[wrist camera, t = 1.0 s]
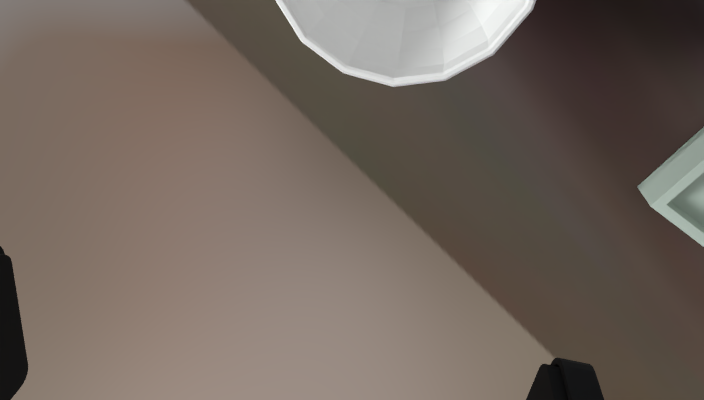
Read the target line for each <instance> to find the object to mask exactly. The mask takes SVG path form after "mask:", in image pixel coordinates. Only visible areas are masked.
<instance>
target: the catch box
mask: <svg viewBox="0 0 704 400" xmlns="http://www.w3.org/2000/svg"><path fill="white" fill-rule="evenodd" d="M637 187H638V189H639V190H640V192H641V193H642V195H643V196H644V198H645V199H646V200H647V202H648V203H649V205H650V206H651V207H652V208H654V209H655V210H656V211H657V212H659V213H660V214H661V215H663V216H664V217H665V218H667V219H668V220H669V221H671V222H672V223H673V224H675V225H676V226H677V227H678V228H680V229H681V230H682V231H684V232H685V233H686V234H688V235H689V236H690V237H692V238H693V239H694V240H696V241H697V242H698V243H699V244H701V245H702V246H703V247H704V127H703V128H702V129H701V130H700V131H699V132H697V133H696V134H695V135H694V136H693V137H692V138H691V139H690V140H689V141H687V142H686V143H685V144H684V145H683V146H682V147H681V148H680V149H679V150H677V151H676V152H675V153H674V154H673V155H672V156H671V157H670V158H669V159H667V160H666V161H665V162H664V163H663V164H662V165H661V166H660V167H659V168H657V169H656V170H655V171H654V172H653V173H652V174H651V175H650V176H649V177H647V178H646V179H645V180H644V181H643V182H642V183H641V184H640V185H639V186H637Z"/></svg>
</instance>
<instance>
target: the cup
mask: <svg viewBox="0 0 704 400" xmlns="http://www.w3.org/2000/svg"><path fill="white" fill-rule="evenodd" d="M276 2H277V4H278V5H279V7H280V8H281V10H282V12H283V13H284V15H285V16H286V18H287V20H288V21H289V23H290V24H291V26H292V27H293V29H294V31H295V32H296V34H297V35H298V37H299V39H300V40H301V42H303V43H304V44H305V45H307V46H308V47H309V48H311V49H312V50H313V51H315V52H316V53H317V54H319V55H320V56H321V57H323V58H324V59H325V60H327V61H328V62H329V63H331V64H332V65H333V66H335V67H336V68H337V69H339V70H340V71H341V72H343V73H345V74H348V75H352V76H356V77H359V78H363V79H367V80H370V81H374V82H378V83H381V84H385V85H389V86H393V87H395V86H404V85H412V84H420V83H429V82H437V81H445V80H447V79H449V78H451V77H453V76H455V75H457V74H458V73H460V72H462V71H464V70H466V69H468V68H470V67H471V66H473V65H475V64H477V63H479V62H481V61H483V60H485V59H486V58H488V57H490V56H492V55H494V54H495V53H496V51H497V50H498V49H499V48H500V47H501V46H502V45H503V43H504V42H505V41H506V40H507V39H508V38H509V36H510V35H511V34H512V33H513V32H514V31H515V30H516V28H517V27H518V26H519V25H520V24H521V23H522V22H523V20H524V19H525V18H526V17H527V16H528V15H529V13H530V12H531V11H532V10H533V7H534V5H535V2H536V0H276Z"/></svg>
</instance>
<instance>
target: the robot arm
mask: <svg viewBox="0 0 704 400" xmlns="http://www.w3.org/2000/svg"><path fill="white" fill-rule="evenodd" d="M27 372H28V362H27V356H26V350H25V343H24V337H23V330H22V324H21V318H20V312H19V305H18V299H17V293H16V286H15V280H14V273H13V267H12V262H11V258H10V257H9V256H7V255H5V254H4V251H3V249H2V248H1V246H0V400H11V398H12V397H13V396H14V395H15V394H16V392H17V391H18V390H19V388H20V387H21V386H22V384H23V383H24V380H25V378H26V375H27ZM526 400H604V398H603V395H602V392H601V389H600V386H599V383H598V380H597V376H596V373H595V371H594V369H593V367H592V366H591V365H590V364H586V363H581V362H576V361H571V360H566V359H561V358H555V359H554V360H553V361H552V363H551V365H547V364H542V365H541V366H540V368H539V370H538V373H537V375H536V377H535V380H534V382H533V384H532V387H531V389H530V392H529V394H528V397H527V399H526Z"/></svg>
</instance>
